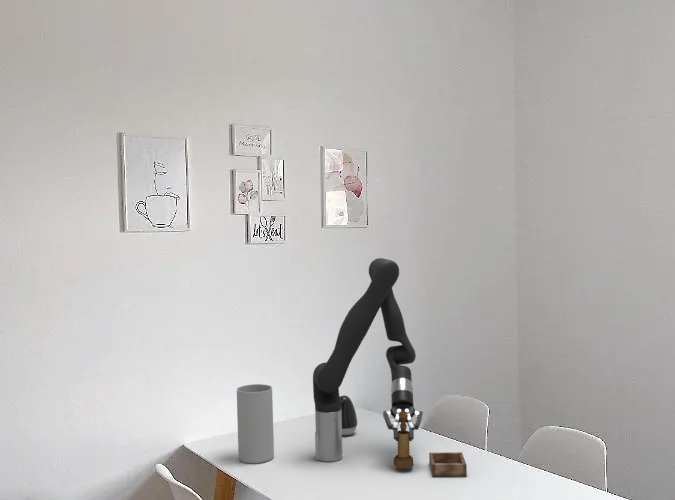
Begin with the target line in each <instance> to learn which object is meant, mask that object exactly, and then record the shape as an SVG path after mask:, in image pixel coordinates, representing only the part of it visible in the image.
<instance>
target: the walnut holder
mask: <svg viewBox="0 0 675 500" xmlns="http://www.w3.org/2000/svg"><path fill="white" fill-rule="evenodd" d="M428 457H429V461H428V463H429V468H430V472H431V473H430V474H431V478H467V476H468V474H467V472H468V471H467V463H466V459H465V457H464V455H463V452H459V451H458V452H453V451H452V452H446V451H445V452H429V453H428Z"/></svg>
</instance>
